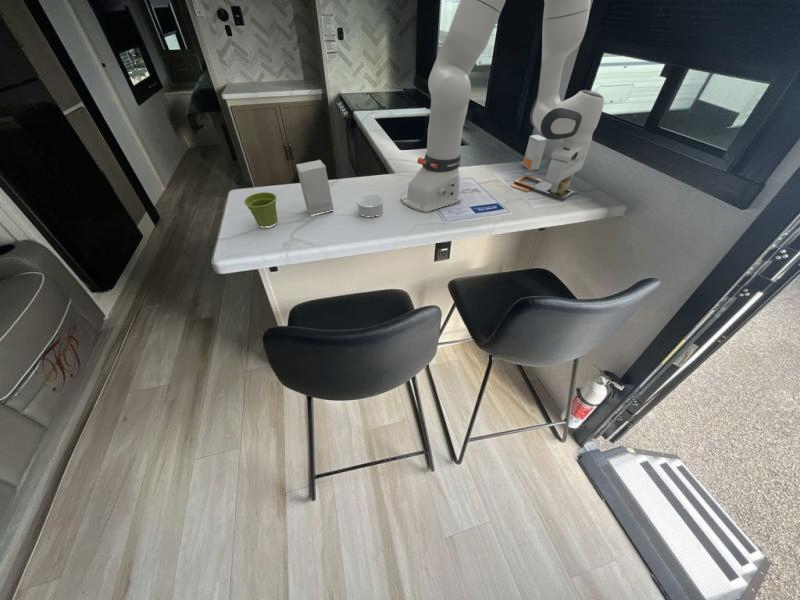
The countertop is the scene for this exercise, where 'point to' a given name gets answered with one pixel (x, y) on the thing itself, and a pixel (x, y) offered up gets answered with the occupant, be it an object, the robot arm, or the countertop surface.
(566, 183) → the yellow square block
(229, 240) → the countertop surface
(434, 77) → the robot arm
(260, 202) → the plant pot
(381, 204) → the ramekin
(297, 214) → the countertop surface
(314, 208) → the skincare box
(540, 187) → the rail
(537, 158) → the skincare box
